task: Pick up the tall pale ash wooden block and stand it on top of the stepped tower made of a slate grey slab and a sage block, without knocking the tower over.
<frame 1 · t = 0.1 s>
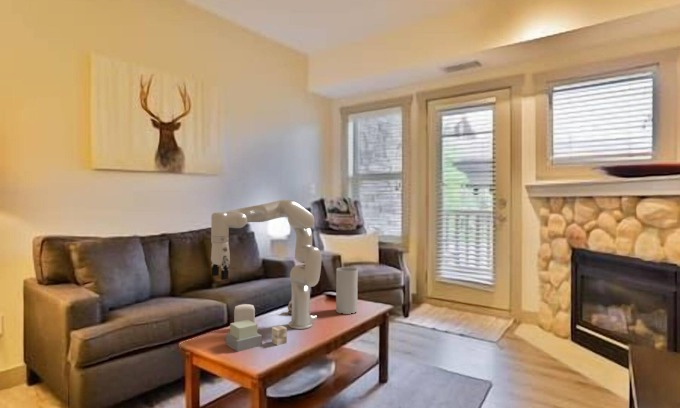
hand: (219, 277, 188), 31 cm above the table, tool pointing down, fingers open, 9 cm apart
decorative ornament: (294, 313, 240), on the table
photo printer: (244, 328, 213), on the table
cylinder vase: (346, 311, 245), on the table
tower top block: (243, 334, 190), point 5 cm above the table, touching tower bottom block
ash block: (279, 342, 193), on the table
tower bottom block: (243, 345, 190), on the table, touching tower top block
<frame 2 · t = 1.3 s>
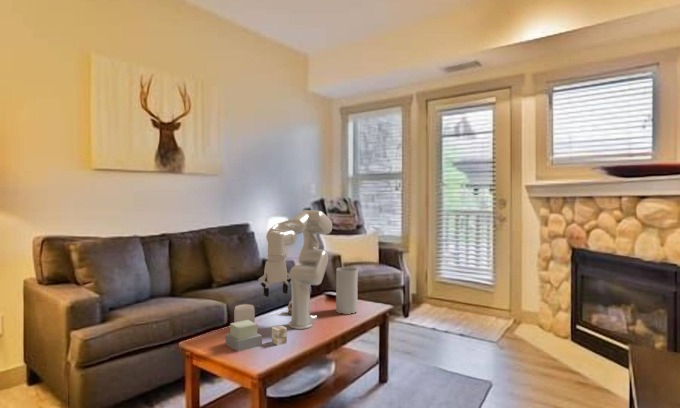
hand: (275, 294, 193), 23 cm above the table, tool pointing down, fingers open, 9 cm apart
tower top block: (243, 334, 190), point 5 cm above the table
tower bottom block: (243, 345, 190), on the table
everything else where it was.
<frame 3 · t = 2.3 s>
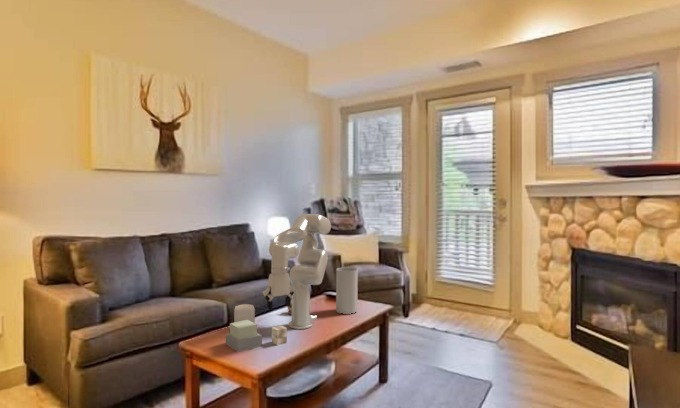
hand: (278, 307, 192), 16 cm above the table, tool pointing down, fingers open, 9 cm apart
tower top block: (243, 334, 190), point 5 cm above the table, touching tower bottom block
tower bottom block: (243, 345, 190), on the table, touching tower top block
everything else where it was.
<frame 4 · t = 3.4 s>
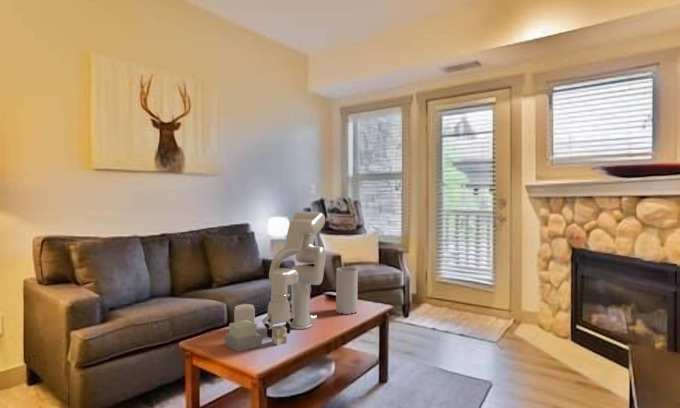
hand: (278, 334, 193), 4 cm above the table, tool pointing down, fingers open, 9 cm apart
nothing on the table moved.
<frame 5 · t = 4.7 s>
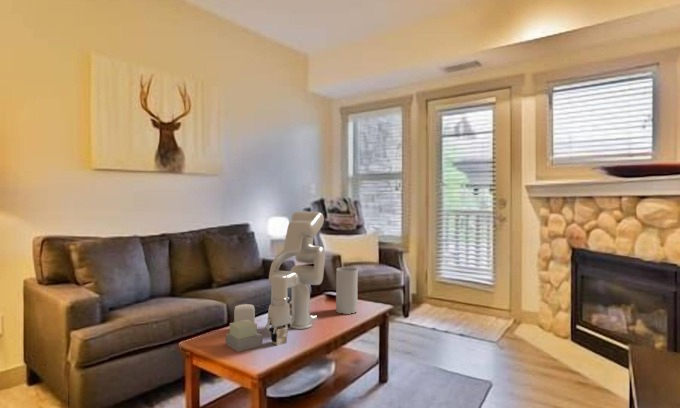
hand: (279, 339, 193), 1 cm above the table, tool pointing down, fingers closed on ash block, 5 cm apart
ash block: (279, 342, 193), on the table, touching gripper
everything else where it was.
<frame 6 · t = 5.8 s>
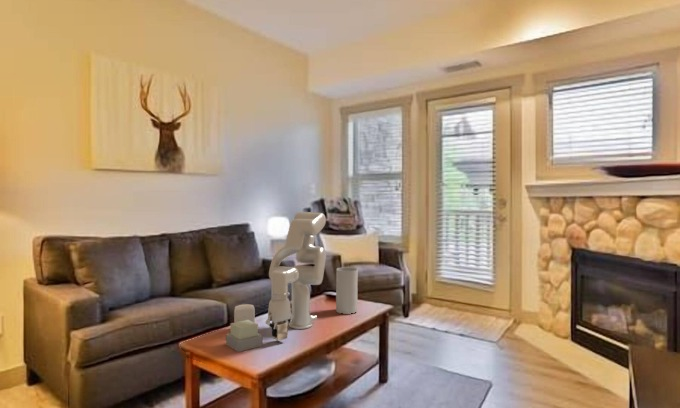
hand: (279, 334, 194), 3 cm above the table, tool pointing down, fingers closed on ash block, 5 cm apart
ash block: (279, 337, 194), point 2 cm above the table, touching gripper
everything else where it was.
when the fingers open (13 cm above the table, at t = 13.1 s): ash block drops 2 cm, point 10 cm above the table.
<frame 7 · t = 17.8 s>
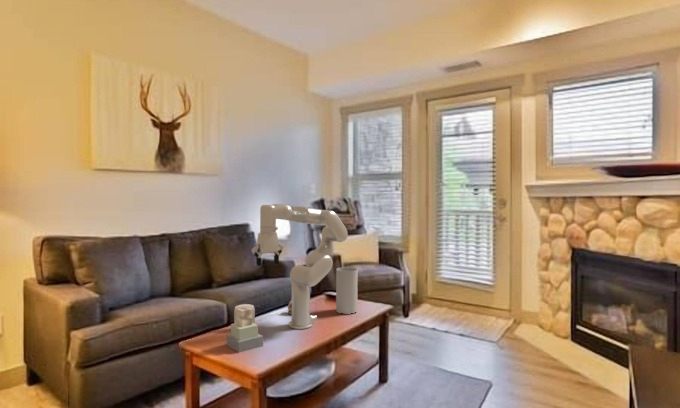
hand: (267, 264, 204), 34 cm above the table, tool pointing down, fingers open, 9 cm apart
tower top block: (244, 335, 189), point 5 cm above the table, touching tower bottom block
ash block: (244, 324, 190), point 10 cm above the table
at the end: ash block 0.2 cm off-centre on the tower bottom block, point 10.0 cm above the tower bottom block's base; ash block tilted 0°; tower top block tilted 0° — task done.
